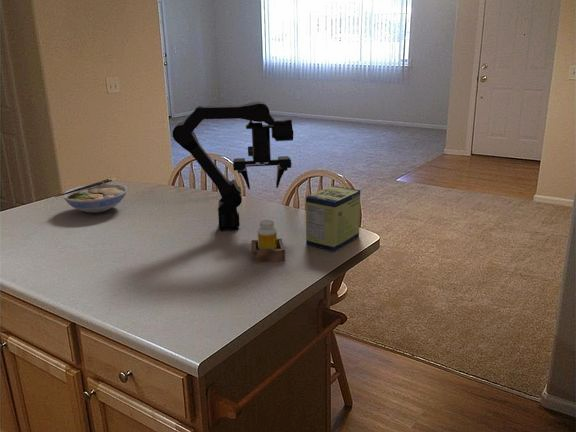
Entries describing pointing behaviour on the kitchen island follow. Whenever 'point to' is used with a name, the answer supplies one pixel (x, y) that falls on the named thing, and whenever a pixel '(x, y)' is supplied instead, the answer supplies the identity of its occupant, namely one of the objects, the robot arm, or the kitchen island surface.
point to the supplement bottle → (267, 235)
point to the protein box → (332, 217)
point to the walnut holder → (268, 252)
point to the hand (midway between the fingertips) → (263, 188)
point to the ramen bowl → (95, 196)
